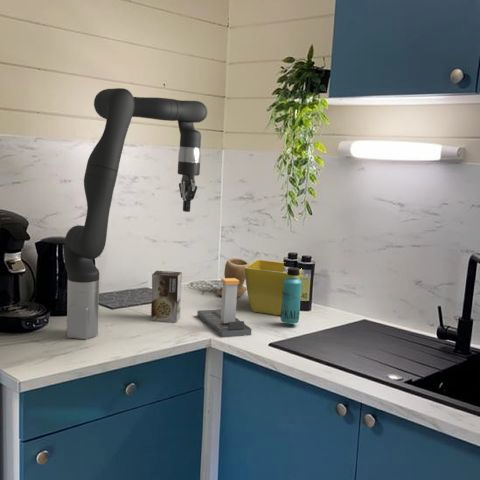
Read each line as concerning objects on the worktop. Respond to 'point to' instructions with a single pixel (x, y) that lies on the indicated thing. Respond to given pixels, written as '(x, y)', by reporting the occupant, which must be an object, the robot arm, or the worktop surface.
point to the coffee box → (166, 296)
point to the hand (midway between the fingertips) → (186, 211)
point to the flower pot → (266, 285)
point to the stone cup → (235, 273)
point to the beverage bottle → (291, 297)
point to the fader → (229, 299)
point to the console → (223, 324)
